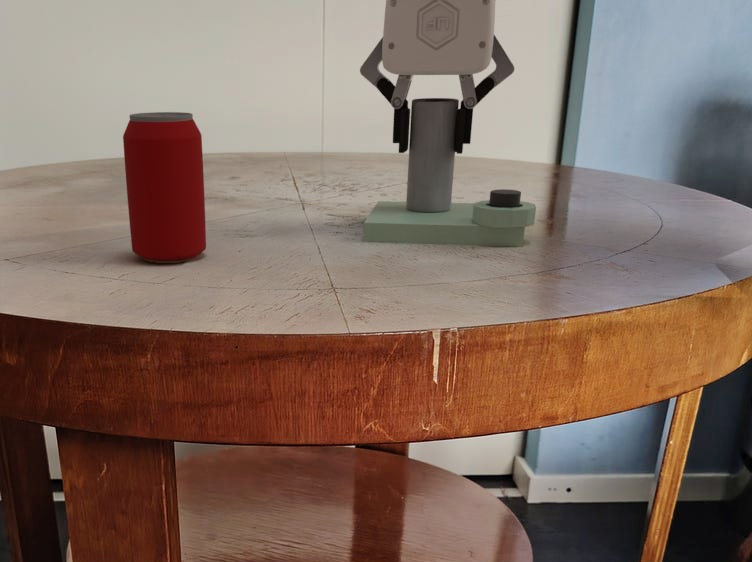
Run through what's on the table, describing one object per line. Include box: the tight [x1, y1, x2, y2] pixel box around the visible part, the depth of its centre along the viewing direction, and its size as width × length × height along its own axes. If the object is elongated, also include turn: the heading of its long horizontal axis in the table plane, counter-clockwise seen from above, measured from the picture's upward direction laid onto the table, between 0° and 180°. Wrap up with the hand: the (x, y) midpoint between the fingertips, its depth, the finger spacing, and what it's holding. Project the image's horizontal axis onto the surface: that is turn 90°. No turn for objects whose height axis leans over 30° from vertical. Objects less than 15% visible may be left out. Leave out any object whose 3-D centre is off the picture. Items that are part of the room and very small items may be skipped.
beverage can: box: [122, 111, 207, 264], centre depth 79 cm, size 7×7×12 cm
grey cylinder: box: [405, 97, 460, 212], centre depth 90 cm, size 4×4×10 cm
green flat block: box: [362, 199, 537, 248], centre depth 90 cm, size 16×14×4 cm
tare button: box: [489, 189, 522, 208], centre depth 84 cm, size 3×3×2 cm
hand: (431, 149), depth 89 cm, fingers open, 4 cm apart
